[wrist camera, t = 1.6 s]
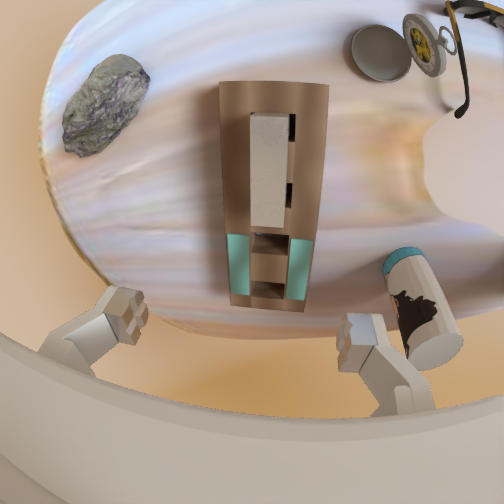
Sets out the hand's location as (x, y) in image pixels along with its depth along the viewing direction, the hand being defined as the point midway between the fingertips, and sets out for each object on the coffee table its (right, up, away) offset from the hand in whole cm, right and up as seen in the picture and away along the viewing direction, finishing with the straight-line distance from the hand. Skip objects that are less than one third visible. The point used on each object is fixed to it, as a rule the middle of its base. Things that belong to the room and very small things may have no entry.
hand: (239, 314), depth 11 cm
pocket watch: (+15, +23, +10) cm, 29 cm away
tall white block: (+3, +13, +19) cm, 23 cm away
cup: (+22, 0, +24) cm, 33 cm away
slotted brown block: (+3, +8, +22) cm, 24 cm away
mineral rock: (-17, +21, +17) cm, 32 cm away
